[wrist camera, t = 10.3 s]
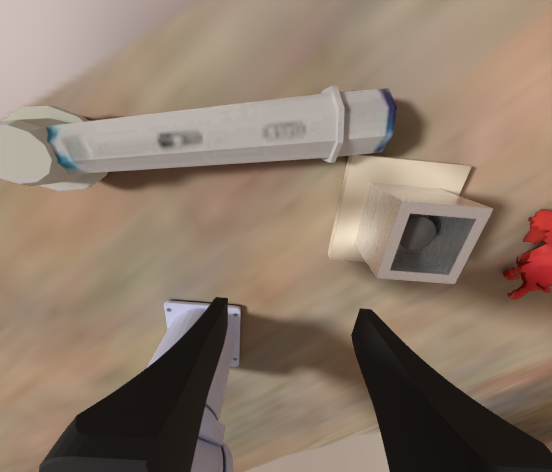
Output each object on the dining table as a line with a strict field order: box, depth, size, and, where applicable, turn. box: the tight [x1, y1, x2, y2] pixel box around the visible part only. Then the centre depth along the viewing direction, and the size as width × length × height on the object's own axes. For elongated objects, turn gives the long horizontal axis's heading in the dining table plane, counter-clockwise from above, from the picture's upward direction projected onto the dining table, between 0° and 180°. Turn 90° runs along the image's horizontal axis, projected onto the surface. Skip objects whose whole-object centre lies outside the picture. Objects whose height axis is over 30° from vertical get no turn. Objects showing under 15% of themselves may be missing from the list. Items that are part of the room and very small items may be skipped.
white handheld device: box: [0, 85, 397, 191], centre depth 15 cm, size 5×7×25 cm
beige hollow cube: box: [354, 183, 493, 284], centre depth 16 cm, size 5×5×5 cm
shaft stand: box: [328, 154, 472, 262], centre depth 18 cm, size 9×9×4 cm
